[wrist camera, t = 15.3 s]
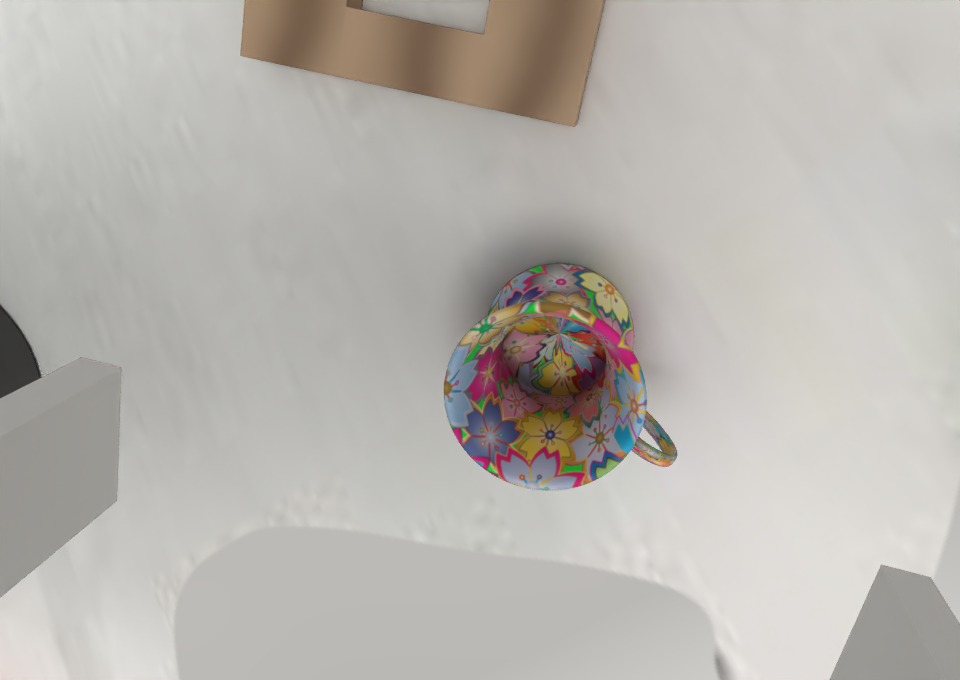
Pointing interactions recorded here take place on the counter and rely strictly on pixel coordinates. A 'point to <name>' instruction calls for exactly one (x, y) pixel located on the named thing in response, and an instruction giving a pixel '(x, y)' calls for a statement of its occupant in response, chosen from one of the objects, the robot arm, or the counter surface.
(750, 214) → the counter surface
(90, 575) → the counter surface
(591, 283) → the mug
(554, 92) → the socket block
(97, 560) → the counter surface
